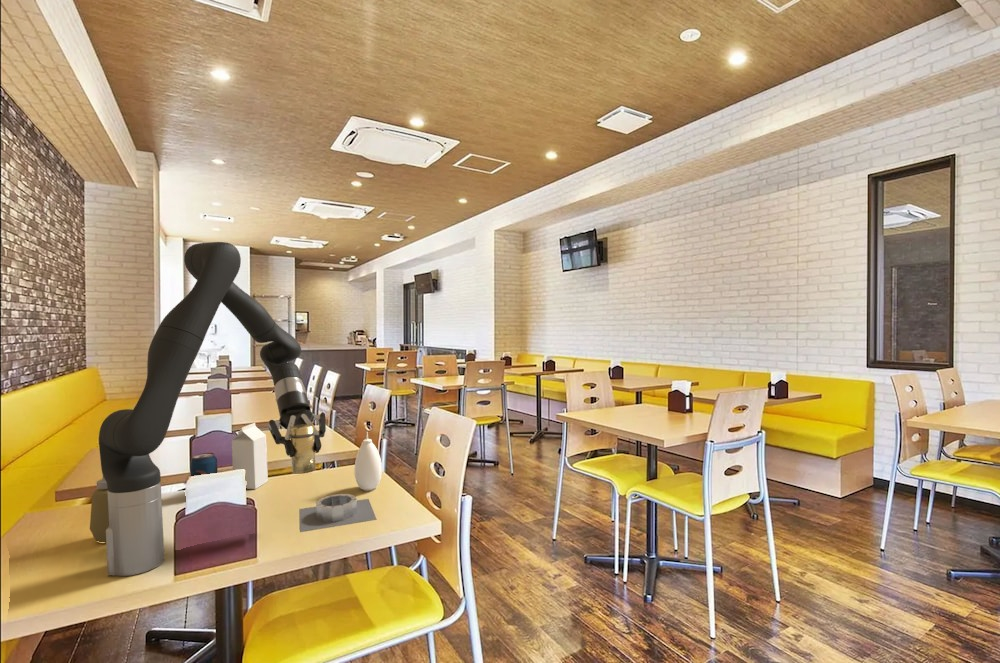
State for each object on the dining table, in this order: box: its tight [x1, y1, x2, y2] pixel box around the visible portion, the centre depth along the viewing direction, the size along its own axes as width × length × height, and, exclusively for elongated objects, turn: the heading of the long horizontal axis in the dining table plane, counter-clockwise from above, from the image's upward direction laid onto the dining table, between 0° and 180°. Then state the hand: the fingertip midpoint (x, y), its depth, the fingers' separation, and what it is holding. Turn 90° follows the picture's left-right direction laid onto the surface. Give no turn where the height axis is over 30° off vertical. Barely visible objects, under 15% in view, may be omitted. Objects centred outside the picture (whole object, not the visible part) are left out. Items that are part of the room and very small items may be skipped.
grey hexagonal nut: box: [315, 493, 357, 522], centre depth 134 cm, size 10×10×4 cm
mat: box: [299, 498, 378, 533], centre depth 134 cm, size 18×16×1 cm
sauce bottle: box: [354, 431, 383, 492], centre depth 153 cm, size 8×8×18 cm
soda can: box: [189, 452, 219, 477], centre depth 153 cm, size 7×7×12 cm
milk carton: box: [231, 422, 269, 490], centre depth 161 cm, size 7×7×19 cm
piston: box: [290, 424, 317, 475], centre depth 129 cm, size 6×6×11 cm
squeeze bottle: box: [89, 476, 109, 542], centre depth 124 cm, size 8×8×18 cm
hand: (305, 453), depth 127 cm, fingers closed on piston, 5 cm apart
